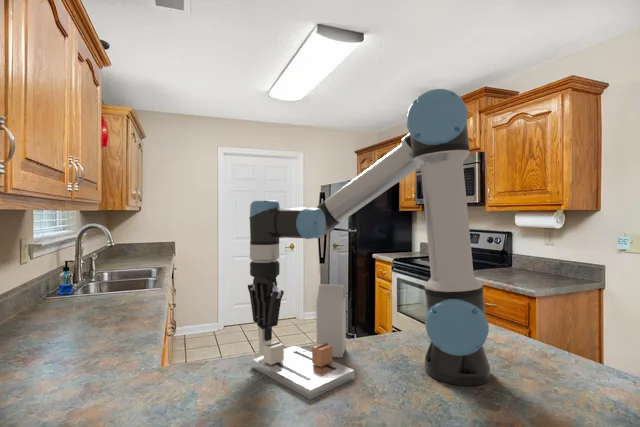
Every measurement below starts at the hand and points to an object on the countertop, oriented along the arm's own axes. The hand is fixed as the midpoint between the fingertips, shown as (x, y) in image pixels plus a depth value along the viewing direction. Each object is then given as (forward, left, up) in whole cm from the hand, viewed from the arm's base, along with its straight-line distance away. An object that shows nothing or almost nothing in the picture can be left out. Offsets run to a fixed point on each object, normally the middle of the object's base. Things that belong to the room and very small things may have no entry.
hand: (265, 351), depth 94 cm
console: (-10, -4, -3) cm, 11 cm away
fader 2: (-13, -8, -1) cm, 15 cm away
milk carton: (-6, -18, -4) cm, 20 cm away
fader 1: (-4, 0, -1) cm, 4 cm away
